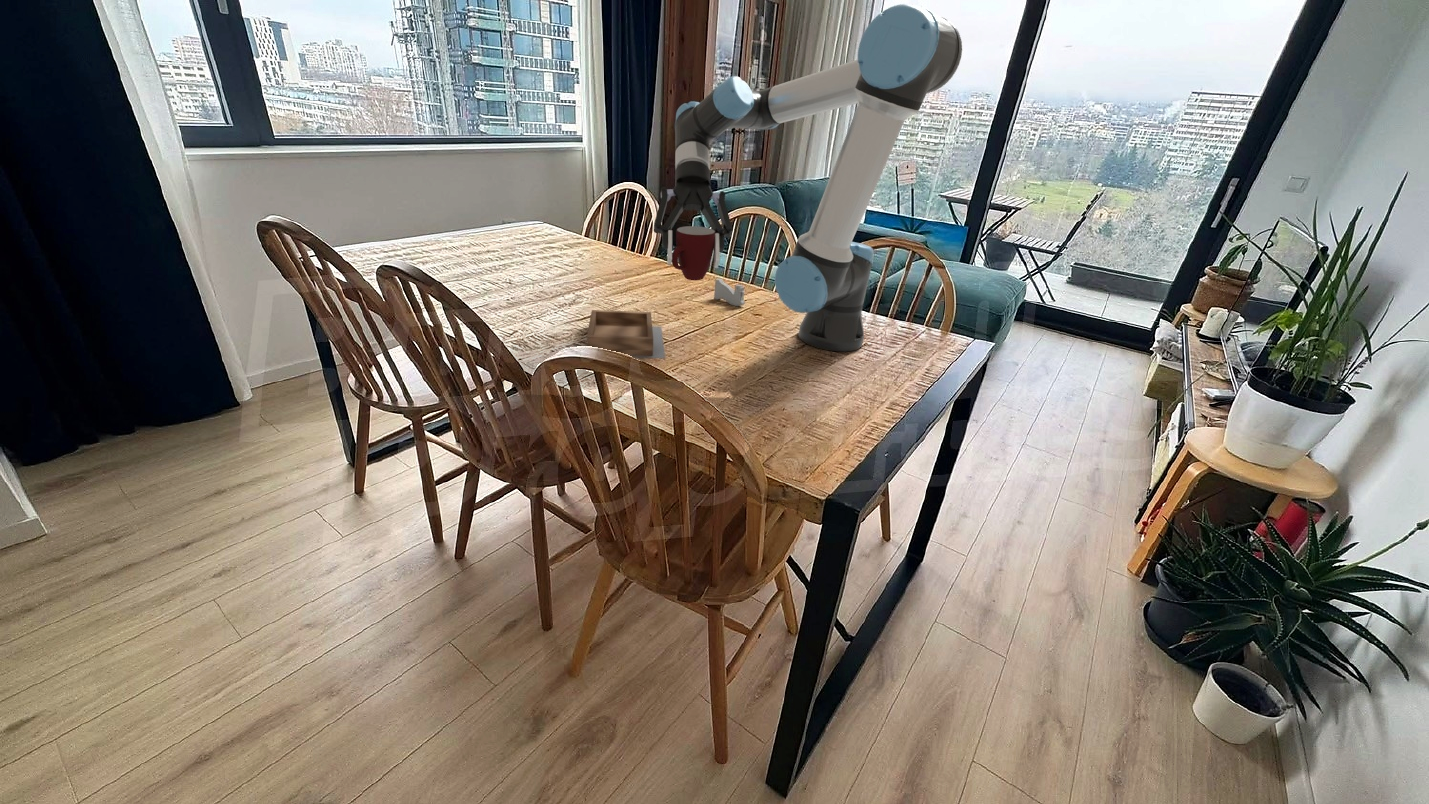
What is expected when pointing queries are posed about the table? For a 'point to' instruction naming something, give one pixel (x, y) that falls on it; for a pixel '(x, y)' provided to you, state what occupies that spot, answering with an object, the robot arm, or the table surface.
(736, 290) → the notched grey bracket
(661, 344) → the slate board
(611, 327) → the wooden tray
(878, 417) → the table surface
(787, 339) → the table surface
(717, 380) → the table surface
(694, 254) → the mug
